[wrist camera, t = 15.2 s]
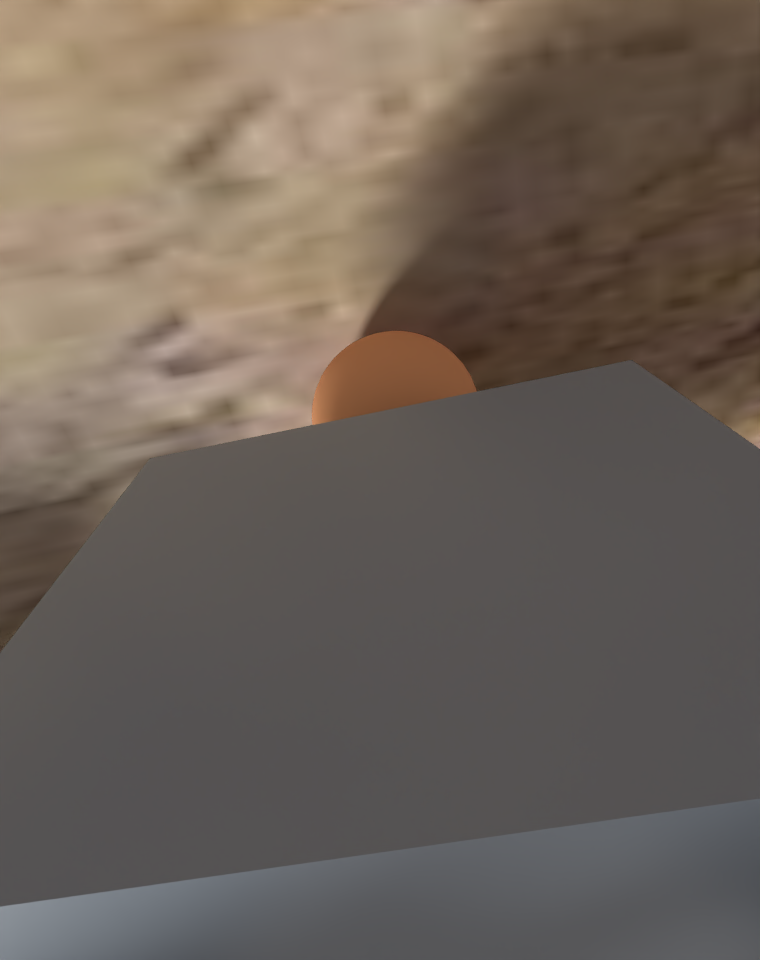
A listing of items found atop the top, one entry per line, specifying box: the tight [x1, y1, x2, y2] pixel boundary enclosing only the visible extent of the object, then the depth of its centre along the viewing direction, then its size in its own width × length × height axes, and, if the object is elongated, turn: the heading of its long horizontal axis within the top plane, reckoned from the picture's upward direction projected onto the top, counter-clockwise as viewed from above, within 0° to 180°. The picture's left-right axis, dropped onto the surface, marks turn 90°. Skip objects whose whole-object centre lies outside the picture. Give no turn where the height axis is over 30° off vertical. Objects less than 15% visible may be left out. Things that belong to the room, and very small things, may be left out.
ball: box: [312, 331, 477, 425], centre depth 17 cm, size 5×5×5 cm
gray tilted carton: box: [0, 360, 760, 960], centre depth 10 cm, size 10×10×9 cm
